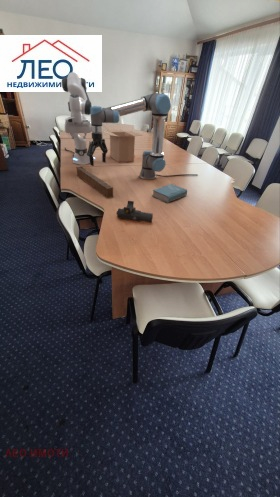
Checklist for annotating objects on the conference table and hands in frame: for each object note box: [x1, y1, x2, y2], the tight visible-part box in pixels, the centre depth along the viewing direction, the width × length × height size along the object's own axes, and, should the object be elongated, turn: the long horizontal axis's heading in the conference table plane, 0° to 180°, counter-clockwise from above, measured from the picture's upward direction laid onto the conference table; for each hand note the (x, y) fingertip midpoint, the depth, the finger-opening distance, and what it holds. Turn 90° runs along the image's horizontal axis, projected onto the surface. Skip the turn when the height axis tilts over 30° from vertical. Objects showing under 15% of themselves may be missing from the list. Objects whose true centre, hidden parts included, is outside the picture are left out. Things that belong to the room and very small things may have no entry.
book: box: [152, 183, 188, 204], centre depth 172 cm, size 23×16×5 cm
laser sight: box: [116, 200, 154, 223], centre depth 136 cm, size 10×22×10 cm, turn 78°
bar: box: [75, 166, 114, 199], centre depth 180 cm, size 56×5×7 cm, turn 36°
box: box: [102, 129, 143, 163], centre depth 244 cm, size 44×36×27 cm
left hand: (78, 138), depth 182 cm, fingers open, 8 cm apart
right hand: (98, 163), depth 166 cm, fingers open, 13 cm apart
